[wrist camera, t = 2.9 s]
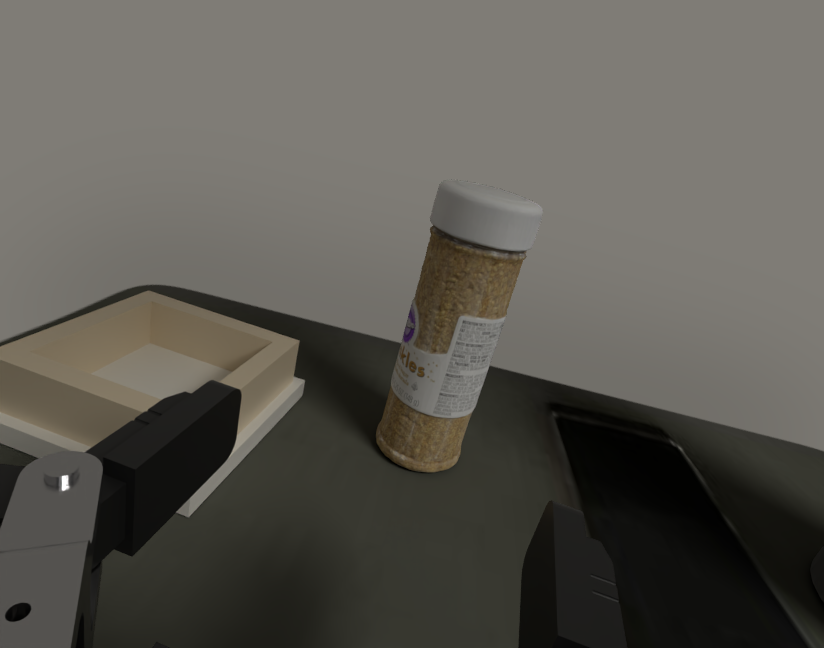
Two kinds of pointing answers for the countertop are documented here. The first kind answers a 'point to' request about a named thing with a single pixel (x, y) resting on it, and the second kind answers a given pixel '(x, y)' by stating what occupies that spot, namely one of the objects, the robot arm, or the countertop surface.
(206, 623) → the countertop surface
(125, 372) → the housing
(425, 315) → the sprinkles bottle
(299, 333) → the countertop surface
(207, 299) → the countertop surface
